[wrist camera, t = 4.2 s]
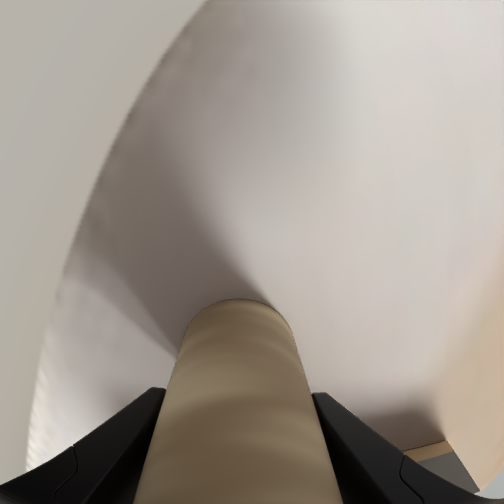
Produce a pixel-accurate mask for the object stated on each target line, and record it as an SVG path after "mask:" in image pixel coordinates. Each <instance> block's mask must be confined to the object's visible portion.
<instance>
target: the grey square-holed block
mask: <svg viewBox="0 0 504 504" xmlns="http://www.w3.org/2000/svg"><path fill="white" fill-rule="evenodd" d="M403 453H404V455H405V454H406V455H408V456H409V457H410V458H412V459H413V460H415V461H416V462H418V463H419V464H420V465H422V466H423V467H425V468H426V469H428V470H430V471H431V472H433V473H435V474H437V475H438V476H440V477H442V478H444V479H446V480H447V481H449V482H451V483H453V484H455V485H457V486H459V487H461V488H463V489H465V490H467V491H469V492H471V493H473V494H475V495H477V494H478V493H479V492H480V490H479V488H478V487H477V485H476V484H475V482H474V481H473V479H472V477H471V476H470V474H469V473H468V471H467V470H466V468H465V467H464V465H463V464H462V462H461V461H460V459H459V458H458V456H457V455H456V453H455V452H454V450H453V449H452V447H451V446H450V444H449V443H448V441H447V440H446V441H442V442H439V443H435V444H432V445H428V446H424V447H420V448H416V449H412V450H408V451H404V452H403Z"/></svg>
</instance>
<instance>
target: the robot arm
mask: <svg viewBox="0 0 504 504" xmlns="http://www.w3.org/2000/svg"><path fill="white" fill-rule="evenodd" d="M165 394H166V389H164V388H157V387H152V388H150V389H148V390H147V391H146V392H145V393H143V394H142V395H141V396H139V397H138V398H137V399H135V400H134V401H133V402H131V403H130V404H129V405H127V406H126V407H125V408H123V409H122V410H120V411H119V412H118V413H116V414H115V415H114V416H112V417H111V418H110V419H108V420H107V421H106V422H104V423H103V424H101V425H100V426H99V427H97V428H96V429H94V430H93V431H92V432H90V433H89V434H88V435H86V436H85V437H83V438H82V439H80V440H79V441H78V442H76V443H75V444H73V446H70V447H69V448H68V449H66V450H65V451H63V452H62V453H60V454H59V455H57V456H56V457H54V458H52V459H51V460H49V461H48V462H46V463H44V464H42V465H40V466H38V467H37V468H35V469H33V470H31V471H29V472H27V473H25V474H23V475H21V476H19V477H17V478H15V479H12V480H10V481H8V482H6V483H4V484H2V485H0V504H133V502H134V498H135V495H136V491H137V487H138V484H139V480H140V477H141V473H142V470H143V466H144V463H145V459H146V456H147V453H148V449H149V446H150V443H151V439H152V436H153V433H154V429H155V426H156V423H157V419H158V416H159V413H160V410H161V407H162V403H163V400H164V397H165ZM311 396H312V399H313V402H314V406H315V409H316V412H317V416H318V419H319V422H320V426H321V429H322V432H323V436H324V439H325V443H326V446H327V449H328V453H329V456H330V460H331V463H332V466H333V470H334V473H335V477H336V480H337V484H338V487H339V491H340V494H341V498H342V501H343V504H504V498H503V499H488V498H484V497H480V496H478V495H475V494H473V493H471V492H469V491H467V490H465V489H463V488H461V487H459V486H457V485H455V484H453V483H451V482H449V481H447V480H446V479H444V478H442V477H440V476H438V475H437V474H435V473H433V472H431V471H430V470H428V469H426V468H425V467H423V466H422V465H420V464H419V463H418V462H416V461H415V460H413V459H412V458H410V457H409V456H408V455H406V454H405V455H404V453H403V452H402V451H401V450H399V449H398V448H397V447H395V446H394V445H393V444H391V443H390V442H389V441H387V440H386V439H385V438H383V437H382V436H381V435H379V434H378V433H377V432H375V431H374V430H373V429H371V428H370V427H369V426H368V425H366V424H365V423H364V422H362V421H361V420H360V419H359V418H357V417H356V416H355V415H353V414H352V413H351V412H350V411H348V410H347V409H346V408H345V407H343V406H342V405H341V404H340V403H338V402H337V401H336V400H335V399H333V398H332V397H331V396H330V395H328V394H327V393H325V392H320V393H312V394H311Z"/></svg>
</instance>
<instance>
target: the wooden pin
mask: <svg viewBox="0 0 504 504" xmlns="http://www.w3.org/2000/svg"><path fill="white" fill-rule="evenodd" d="M133 504H343V501H342V498H341V494H340V491H339V487H338V484H337V480H336V477H335V473H334V470H333V466H332V463H331V460H330V456H329V453H328V449H327V446H326V443H325V439H324V436H323V432H322V429H321V426H320V422H319V419H318V416H317V412H316V409H315V406H314V402H313V399H312V396H311V392H310V389H309V386H308V382H307V379H306V376H305V373H304V369H303V366H302V363H301V359H300V356H299V353H298V350H297V346H296V343H295V340H294V337H293V333H292V331H291V329H290V327H289V325H288V323H287V322H286V320H285V319H284V318H283V317H282V316H281V315H280V314H279V313H278V312H277V311H275V310H274V309H272V308H271V307H269V306H267V305H265V304H263V303H260V302H257V301H253V300H247V299H230V300H224V301H220V302H217V303H215V304H212V305H210V306H208V307H206V308H205V309H203V310H202V311H201V312H199V313H198V314H197V315H196V316H195V317H194V318H193V320H192V321H191V322H190V324H189V326H188V328H187V330H186V333H185V336H184V339H183V342H182V345H181V348H180V351H179V354H178V357H177V360H176V363H175V366H174V369H173V372H172V375H171V378H170V381H169V385H168V388H167V391H166V394H165V397H164V400H163V403H162V407H161V410H160V413H159V416H158V419H157V423H156V426H155V429H154V433H153V436H152V439H151V443H150V446H149V449H148V453H147V456H146V459H145V463H144V466H143V470H142V473H141V477H140V480H139V484H138V487H137V491H136V495H135V498H134V502H133Z"/></svg>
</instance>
